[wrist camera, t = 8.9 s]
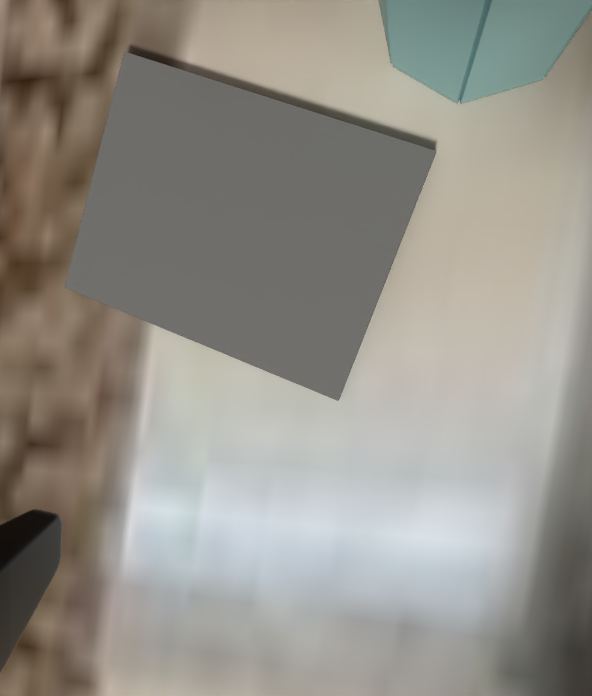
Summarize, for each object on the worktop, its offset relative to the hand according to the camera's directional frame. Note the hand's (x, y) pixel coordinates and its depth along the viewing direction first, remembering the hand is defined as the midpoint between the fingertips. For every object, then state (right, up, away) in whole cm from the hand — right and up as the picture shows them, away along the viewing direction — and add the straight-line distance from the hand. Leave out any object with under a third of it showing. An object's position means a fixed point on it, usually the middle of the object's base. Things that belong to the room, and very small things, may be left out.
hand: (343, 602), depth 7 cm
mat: (-3, +9, +13) cm, 16 cm away
